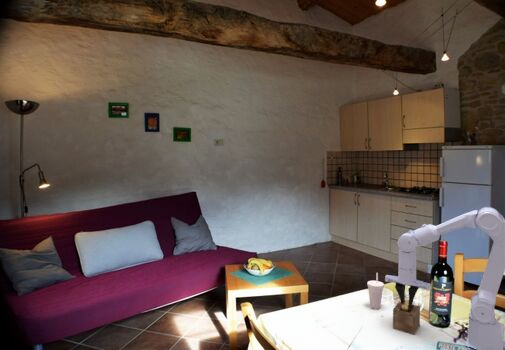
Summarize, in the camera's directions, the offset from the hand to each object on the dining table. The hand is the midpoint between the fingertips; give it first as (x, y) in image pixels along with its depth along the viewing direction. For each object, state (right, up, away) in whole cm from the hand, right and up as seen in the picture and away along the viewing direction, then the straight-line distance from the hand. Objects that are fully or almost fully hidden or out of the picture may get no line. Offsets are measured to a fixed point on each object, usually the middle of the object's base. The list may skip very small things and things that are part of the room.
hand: (406, 305), depth 119 cm
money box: (0, -8, 0) cm, 8 cm away
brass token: (0, -3, 0) cm, 3 cm away
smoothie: (-5, -7, +17) cm, 19 cm away
